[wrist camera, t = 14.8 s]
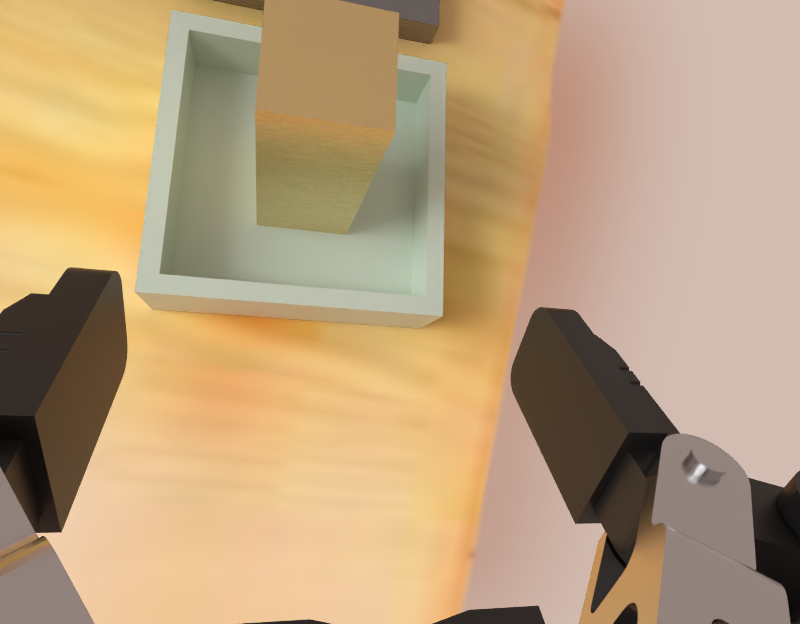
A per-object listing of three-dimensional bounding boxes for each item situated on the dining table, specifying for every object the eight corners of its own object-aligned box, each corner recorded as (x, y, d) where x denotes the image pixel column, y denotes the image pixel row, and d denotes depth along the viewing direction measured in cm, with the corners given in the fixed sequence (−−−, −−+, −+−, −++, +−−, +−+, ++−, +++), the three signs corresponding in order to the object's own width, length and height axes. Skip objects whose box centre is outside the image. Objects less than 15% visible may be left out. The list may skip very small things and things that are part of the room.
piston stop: (256, 225, 25) (255, 109, 16) (263, 142, 26) (265, -16, 17) (345, 234, 26) (395, 131, 17) (349, 154, 27) (399, 13, 18)
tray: (151, 308, 24) (134, 291, 21) (182, 59, 27) (171, 9, 24) (420, 328, 27) (442, 316, 24) (425, 102, 30) (446, 63, 27)
